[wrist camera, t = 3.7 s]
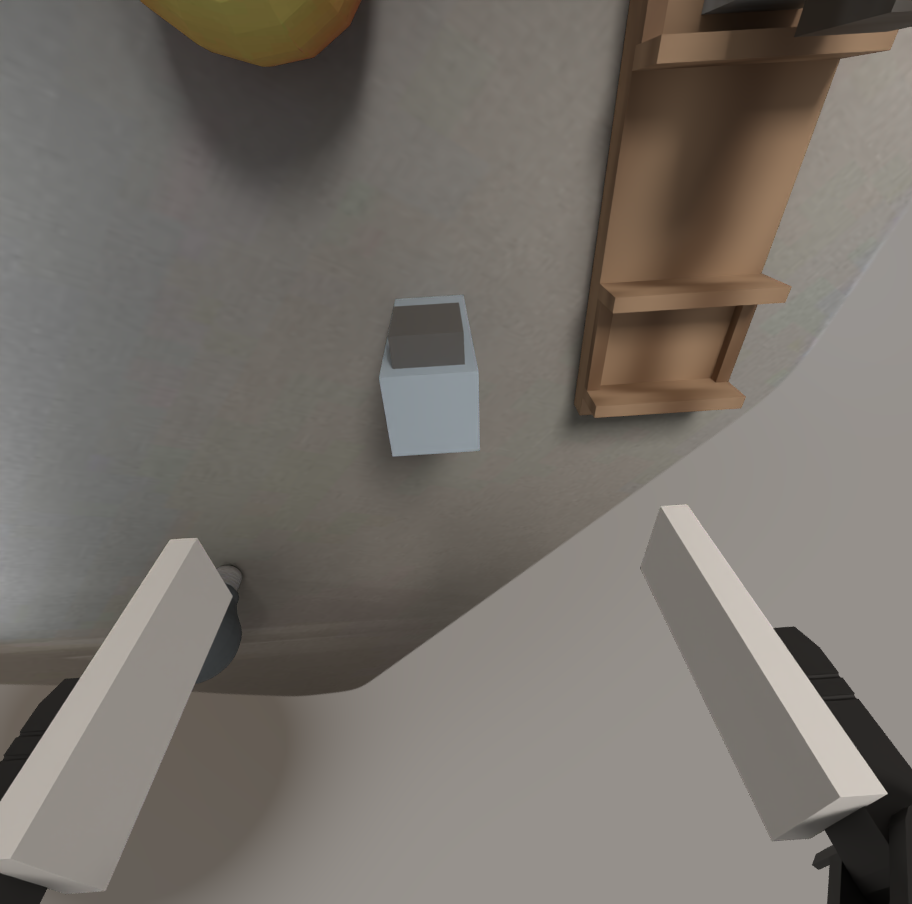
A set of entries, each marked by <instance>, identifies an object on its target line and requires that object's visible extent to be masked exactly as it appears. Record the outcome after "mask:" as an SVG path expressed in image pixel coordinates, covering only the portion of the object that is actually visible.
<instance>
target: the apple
mask: <svg viewBox="0 0 912 904" xmlns="http://www.w3.org/2000/svg"><path fill="white" fill-rule="evenodd" d="M140 1H141V2H142V3H143V4H144V5H146V6H147V7H148V8H150V9H151V10H152V11H154V12H155V13H156V14H158V15H159V16H160V17H162V18H163V19H164V20H166V21H167V22H168V23H170V24H171V25H172V26H174V27H175V28H176V29H178V30H179V31H180V32H182V33H183V34H184V35H186V36H187V37H188V38H190V39H191V40H192V41H194V42H195V43H196V44H198V45H200V46H201V47H203V48H205V49H207V50H209V51H211V52H213V53H217V54H220V55H224V56H227V57H231V58H234V59H237V60H241V61H244V62H248V63H251V64H255V65H258V66H262V67H272V66H277V65H281V64H286V63H291V62H295V61H300V60H305V59H309V58H314V57H315V56H316V55H318V54H319V53H320V52H321V51H322V50H323V49H324V48H325V47H326V46H328V45H329V44H330V43H331V42H332V41H333V40H334V39H335V38H336V37H338V36H339V35H340V34H341V33H342V32H343V31H344V30H345V29H346V28H348V27H349V26H350V24H351V22H352V20H353V17H354V15H355V13H356V11H357V9H358V7H359V4H360V2H361V0H140Z"/></svg>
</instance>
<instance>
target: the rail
mask: <svg viewBox="0 0 912 904" xmlns="http://www.w3.org/2000/svg"><path fill="white" fill-rule="evenodd" d="M907 27H912V0H630V4H629V11H628V18H627V26H626V33H625V40H624V47H623V54H622V62H621V69H620V76H619V83H618V90H617V98H616V105H615V112H614V119H613V126H612V134H611V141H610V148H609V155H608V163H607V170H606V177H605V184H604V191H603V199H602V206H601V213H600V220H599V227H598V235H597V242H596V249H595V256H594V263H593V271H592V278H591V285H590V292H589V299H588V307H587V314H586V321H585V328H584V336H583V343H582V350H581V357H580V364H579V372H578V379H577V386H576V393H575V400H574V405H575V407H576V409H577V411H578V413H579V415H593V416H594V418H600V417H615V416H630V415H645V414H661V413H676V412H691V411H706V410H722V409H737V408H741V407H742V405H743V403H744V400H745V398H746V396H744V395H743V394H742V393H741V392H740V391H739V390H737V389H736V388H735V387H734V386H733V385H731V384H730V383H729V382H728V381H729V378H730V376H731V373H732V371H733V368H734V365H735V363H736V360H737V357H738V355H739V352H740V349H741V347H742V344H743V341H744V339H745V336H746V334H747V331H748V328H749V326H750V323H751V320H752V318H753V315H754V312H755V310H756V307H757V304H769V303H785V302H786V299H787V297H788V294H789V292H790V290H791V286H789V285H787V284H784V283H782V282H780V281H778V280H775V279H773V278H771V277H768V276H766V275H764V274H761V273H762V270H763V267H764V265H765V262H766V259H767V257H768V254H769V251H770V248H771V246H772V243H773V240H774V238H775V235H776V232H777V229H778V227H779V224H780V221H781V218H782V216H783V213H784V210H785V208H786V205H787V202H788V199H789V197H790V194H791V191H792V189H793V186H794V183H795V180H796V178H797V175H798V172H799V169H800V167H801V164H802V161H803V159H804V156H805V153H806V150H807V148H808V145H809V142H810V140H811V137H812V134H813V131H814V129H815V126H816V123H817V121H818V118H819V115H820V112H821V110H822V107H823V104H824V101H825V99H826V96H827V93H828V91H829V88H830V85H831V82H832V80H833V77H834V74H835V72H836V69H837V66H838V63H839V61H840V59H842V58H847V57H853V56H859V55H864V54H870V53H876V52H882V51H887V50H890V49H891V47H892V44H893V42H894V40H895V37H896V35H897V32H898V30H899V29H902V28H907Z"/></svg>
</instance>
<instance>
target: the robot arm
mask: <svg viewBox="0 0 912 904" xmlns="http://www.w3.org/2000/svg"><path fill="white" fill-rule="evenodd" d="M640 569H641V571H642V573H643V575H644V577H645V579H646V581H647V584H648V586H649V588H650V590H651V592H652V594H653V596H654V598H655V600H656V602H657V604H658V606H659V608H660V610H661V613H662V615H663V617H664V619H665V621H666V623H667V625H668V627H669V629H670V631H671V633H672V635H673V637H674V639H675V642H676V644H677V646H678V648H679V650H680V652H681V654H682V656H683V658H684V660H685V662H686V664H687V666H688V668H689V670H690V673H691V675H692V677H693V679H694V681H695V683H696V685H697V687H698V689H699V691H700V693H701V695H702V697H703V700H704V702H705V704H706V706H707V708H708V710H709V712H710V714H711V716H712V718H713V720H714V722H715V724H716V726H717V729H718V731H719V733H720V735H721V737H722V739H723V741H724V743H725V745H726V747H727V749H728V751H729V753H730V755H731V758H732V760H733V762H734V764H735V766H736V768H737V770H738V772H739V774H740V776H741V778H742V780H743V782H744V785H745V787H746V788H747V791H748V793H749V795H750V797H751V799H752V801H753V803H754V805H755V807H756V809H757V811H758V813H759V816H760V817H761V820H762V822H763V824H764V826H765V828H766V830H767V832H768V834H769V836H770V838H771V840H772V841H782V840H795V839H809V838H812V837H814V836H815V835H817V834H819V833H821V832H822V831H824V830H825V831H826V833H827V835H828V837H829V839H830V840H831V842H832V844H833V845H832V846H830V847H828V848H826V849H824V850H823V851H821V852H819V853H817V854H816V856H815V859H814V861H813V864H812V865H813V866H814V867H816V868H817V869H822V868H824V867H826V866H828V865H830V868H829V884H828V901H827V904H912V769H911V767H910V766H909V765H908V763H907V762H906V761H905V759H904V758H903V757H902V755H901V754H900V753H899V752H898V750H897V749H896V748H895V746H894V745H893V744H892V742H891V741H890V740H889V738H888V737H887V736H886V735H885V733H884V732H883V730H882V729H881V728H880V726H879V725H878V724H877V722H876V721H875V720H874V719H873V717H872V716H871V715H870V713H869V712H868V711H867V709H866V708H865V707H864V705H863V704H862V703H861V701H860V700H859V699H856V698H855V696H854V692H853V691H852V690H851V688H850V687H849V686H848V684H847V683H846V682H845V680H844V679H843V678H841V677H840V676H839V675H838V671H837V670H836V668H835V667H834V666H833V664H832V663H831V662H830V661H829V659H828V658H827V657H826V655H825V654H824V653H823V651H822V650H821V649H820V647H818V646H817V645H816V644H815V643H814V642H812V641H811V640H810V639H809V638H808V637H806V636H805V635H804V634H803V633H802V632H800V631H799V630H798V629H797V628H796V627H782V628H773V627H772V626H771V625H770V623H769V622H768V620H767V619H766V617H765V616H764V615H763V613H762V612H761V610H760V609H759V607H758V606H757V604H756V603H755V602H754V600H753V599H752V597H751V596H750V594H749V593H748V591H747V590H746V588H745V587H744V586H743V584H742V583H741V581H740V580H739V578H738V577H737V575H736V574H735V573H734V571H733V570H732V568H731V567H730V565H729V564H728V563H727V561H726V560H725V558H724V557H723V555H722V554H721V553H720V551H719V550H718V548H717V547H716V545H715V544H714V542H713V541H712V539H711V538H710V537H709V535H708V534H707V532H706V531H705V529H704V528H703V526H702V525H701V524H700V522H699V521H698V519H697V518H696V517H695V515H694V514H693V512H692V511H691V509H690V508H689V506H688V505H672V506H661V507H660V509H659V512H658V515H657V518H656V521H655V524H654V527H653V530H652V533H651V537H650V539H649V542H648V546H647V549H646V552H645V555H644V558H643V561H642V564H641V567H640ZM232 597H233V596H232V594H231V593H230V591H229V589H228V588H227V586H226V584H225V583H224V581H223V579H222V578H221V576H220V574H219V573H218V571H217V569H216V568H215V566H214V565H213V563H212V561H211V560H210V558H209V556H208V555H207V553H206V551H205V550H204V548H203V546H202V545H201V543H200V541H199V540H198V538H184V539H170V540H169V542H168V543H167V545H166V546H165V548H164V549H163V551H162V553H161V554H160V556H159V557H158V559H157V560H156V562H155V563H154V565H153V566H152V568H151V570H150V571H149V573H148V574H147V576H146V577H145V579H144V580H143V582H142V583H141V585H140V587H139V588H138V590H137V591H136V593H135V594H134V596H133V597H132V599H131V600H130V602H129V603H128V605H127V607H126V608H125V610H124V611H123V613H122V614H121V616H120V617H119V619H118V620H117V622H116V624H115V625H114V627H113V628H112V630H111V631H110V633H109V634H108V636H107V637H106V639H105V641H104V642H103V644H102V645H101V647H100V648H99V650H98V651H97V653H96V654H95V656H94V658H93V659H92V661H91V662H90V664H89V665H88V667H87V668H86V670H85V671H84V673H83V675H82V676H81V678H71V679H64V680H63V681H62V682H61V683H60V684H59V685H58V686H57V687H56V688H55V689H54V690H53V691H52V692H51V693H50V694H49V695H48V696H47V697H46V698H45V699H44V700H43V701H42V702H41V703H40V704H39V705H38V706H37V708H36V709H35V711H34V712H33V714H32V715H31V716H30V718H29V719H28V721H27V722H26V724H25V725H24V727H23V728H22V730H21V731H20V736H19V737H17V738H15V740H14V741H13V743H12V744H11V745H10V747H9V749H8V750H7V751H6V753H5V754H4V759H3V760H2V761H1V762H0V904H40V902H41V900H42V898H43V896H44V894H45V892H46V890H47V888H48V889H51V890H55V891H58V892H61V893H65V894H72V893H85V892H99V891H106V888H107V886H108V884H109V881H110V879H111V877H112V874H113V872H114V870H115V867H116V865H117V863H118V861H119V858H120V856H121V853H122V851H123V849H124V847H125V844H126V842H127V840H128V837H129V835H130V833H131V830H132V828H133V826H134V823H135V821H136V819H137V817H138V814H139V812H140V809H141V807H142V805H143V803H144V800H145V798H146V796H147V793H148V791H149V788H150V786H151V784H152V782H153V779H154V777H155V775H156V772H157V770H158V768H159V766H160V763H161V761H162V759H163V756H164V754H165V752H166V749H167V747H168V745H169V742H170V740H171V738H172V735H173V733H174V731H175V728H176V726H177V724H178V722H179V719H180V717H181V715H182V712H183V710H184V708H185V705H186V703H187V701H188V698H189V696H190V694H191V692H192V689H193V687H194V685H195V682H196V680H197V678H198V675H199V673H200V671H201V668H202V666H203V664H204V661H205V659H206V657H207V654H208V652H209V650H210V648H211V645H212V643H213V641H214V638H215V636H216V634H217V631H218V629H219V627H220V624H221V622H222V620H223V617H224V615H225V613H226V610H227V608H228V606H229V603H230V601H231V599H232Z"/></svg>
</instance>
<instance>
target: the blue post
mask: <svg viewBox="0 0 912 904" xmlns="http://www.w3.org/2000/svg"><path fill="white" fill-rule="evenodd" d="M379 381H380V387H381V393H382V398H383V404H384V410H385V416H386V421H387V427H388V433H389V439H390V444H391V450H392V456H408V455H423V454H438V453H453V452H468V451H480V431H479V374H478V366H477V361H476V356H475V351H474V346H473V341H472V336H471V331H470V326H469V321H468V316H467V311H466V306H465V301H464V296H463V295H451V296H435V297H419V298H403V299H395V303H394V308H393V313H392V318H391V323H390V327H389V332H388V337H387V342H386V346H385V351H384V356H383V361H382V365H381V370H380V375H379Z"/></svg>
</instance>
